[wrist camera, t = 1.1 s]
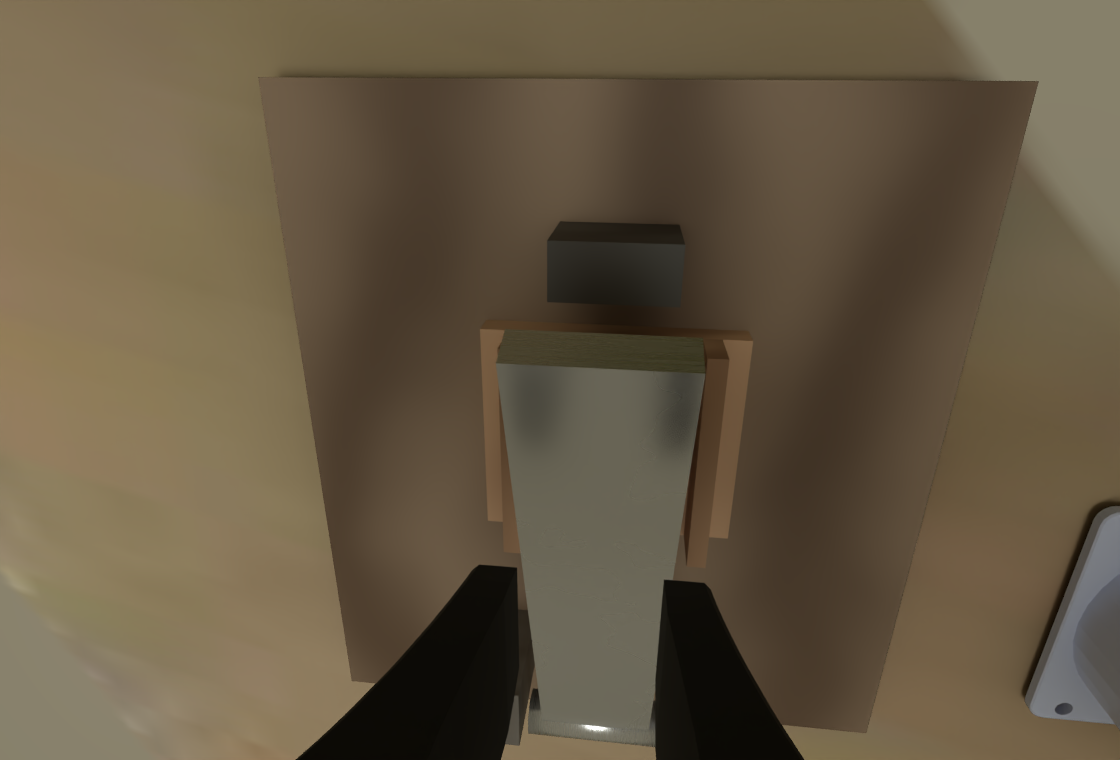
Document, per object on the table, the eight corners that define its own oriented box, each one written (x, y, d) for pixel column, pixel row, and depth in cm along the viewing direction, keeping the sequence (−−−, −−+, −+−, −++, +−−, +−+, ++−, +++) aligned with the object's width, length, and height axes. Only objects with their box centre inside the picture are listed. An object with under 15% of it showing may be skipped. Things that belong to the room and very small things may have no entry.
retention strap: (728, 331, 10) (735, 385, 9) (660, 710, 20) (660, 753, 19) (481, 320, 10) (465, 370, 10) (535, 697, 20) (529, 739, 19)
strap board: (1015, 82, 15) (1147, 76, 11) (857, 708, 23) (902, 835, 19) (278, 78, 17) (167, 72, 13) (362, 659, 25) (308, 766, 21)
